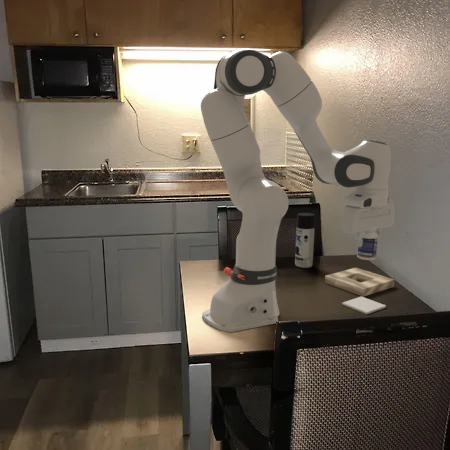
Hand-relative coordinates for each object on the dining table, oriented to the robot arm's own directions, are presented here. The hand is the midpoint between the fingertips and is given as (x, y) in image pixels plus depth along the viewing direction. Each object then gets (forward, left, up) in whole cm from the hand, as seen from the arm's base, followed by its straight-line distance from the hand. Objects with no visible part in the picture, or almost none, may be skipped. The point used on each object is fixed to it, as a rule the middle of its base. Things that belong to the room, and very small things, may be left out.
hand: (367, 244), depth 138 cm
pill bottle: (0, 0, -4) cm, 4 cm away
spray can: (+14, +38, -19) cm, 45 cm away
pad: (0, -1, -19) cm, 19 cm away
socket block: (+14, +12, -19) cm, 26 cm away
